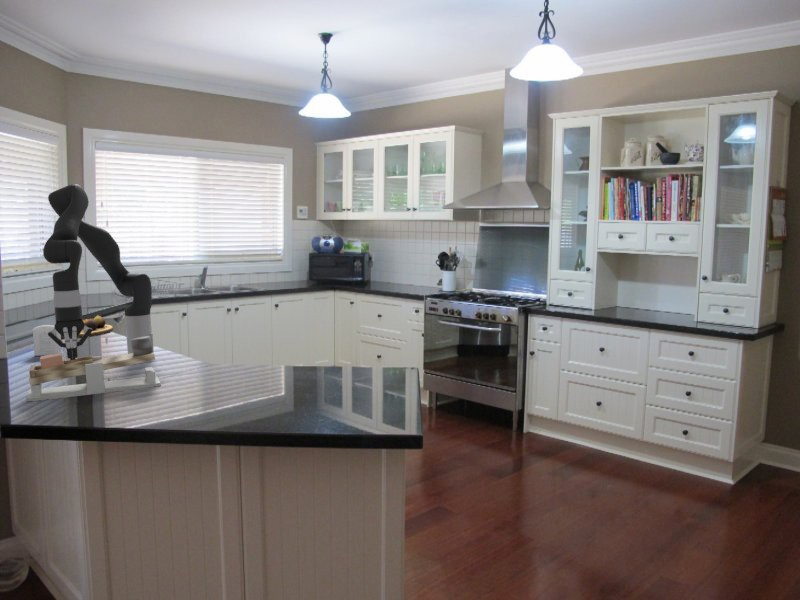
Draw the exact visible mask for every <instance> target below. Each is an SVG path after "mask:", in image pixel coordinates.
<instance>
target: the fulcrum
mask: <svg viewBox="0 0 800 600" xmlns="http://www.w3.org/2000/svg"><path fill="white" fill-rule="evenodd" d="M92 357H93V361H95V360H100V359H103V357H102V355H100V356H99V355H98V356H92ZM85 370H86V374H85V379H86V381H85V382H86V383H80V384H78V383H77V384H71V385H69V384H68V385H61V386H53V387H44V388H43V385H42V384H43V383H40V384H35V385H31V386H30V389H29V390H28V393H27V396H26V402H27V401H33V402H39V401H38V400H41V401H47V400H46V399H49V400H56V399H57V400H58V399H64V398H73V397H81V396H90V395H98V394H99V395H100V394H106V393H113V392H120V391H121V392H123V391H130V390H138V389H148V388H153V387H154V386H156V387H161V381H160V379H159V377H158V375H156V371H155V370H154V368H153V367H152V366H151V367H144V373H145V376H139V377H133V378H132V377H131V378H123V379H114V380H105V373H104V372H105V370H104V371H103V362H100V363H90V364H85ZM147 387H148V388H147Z"/></svg>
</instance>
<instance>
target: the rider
mask: <svg viewBox="0 0 800 600" xmlns="http://www.w3.org/2000/svg"><path fill="white" fill-rule="evenodd" d="M39 357H40V358H39V363H40V365H41V367H42V369H44V368H49V367H54V366H59V365H64V356H63V352H62V353H57V354H51V355H46V356H39Z"/></svg>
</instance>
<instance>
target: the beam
mask: <svg viewBox="0 0 800 600" xmlns="http://www.w3.org/2000/svg"><path fill="white" fill-rule="evenodd" d="M131 345H132V350H133V353H130V354H128V353H126V354H125V353H124V354H121V355H117V356H111V357H106V358H102V359H100V360H95V361H93V357H94V356H93V355H92V354H91V355H86V356H79V357H77V358H75V360H70V358H69V359H66V360H64V359H63V361H64V365H59V366H54V367H49V368H44V369H42V367H41V364H40V365H36V364H33V365H31V364H30V367H29V370H28V372H29V378H28V381H29V385H30V387H31V385H35V384H40V383H42V384H44V383H49V382H55V381H58V380H64V379H68V378H74V377H79V376H84V375H86V370H85V364H90V363H100V362H103V371H104V372H105V371H108V370H112V369H118V368H124V367H127V366H133V365H136V364H142V363H147V362H151V361H156V356H155V352H154V353H153V350H152V344H151V339H150V337H149V336H145V337H138V338H134V339H132V340H131Z"/></svg>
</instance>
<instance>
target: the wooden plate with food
mask: <svg viewBox="0 0 800 600" xmlns="http://www.w3.org/2000/svg"><path fill="white" fill-rule="evenodd" d="M83 322H84V323H85V326H87V327H88V328H91V329H92V332H91V333H90V335H89V337H95V336H94V335H96V336H100V335H106V334H108V333H111V332H112V331H113V330H114V327H113V325H110V324H106V320H105V319H104V318H103V317H102V316H101V315H96V316H95V317H94V318H93V319H92V318H89V319H83ZM83 331H84V329H82V331H81V332H80V334H79V335H78V336H77V339H78V337H80V338H82V336H83V335H84V334H85V333H84V332H83ZM105 333H106V334H105ZM69 338H70V339H72V337H69ZM61 339H65V337H62V336H61Z"/></svg>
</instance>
